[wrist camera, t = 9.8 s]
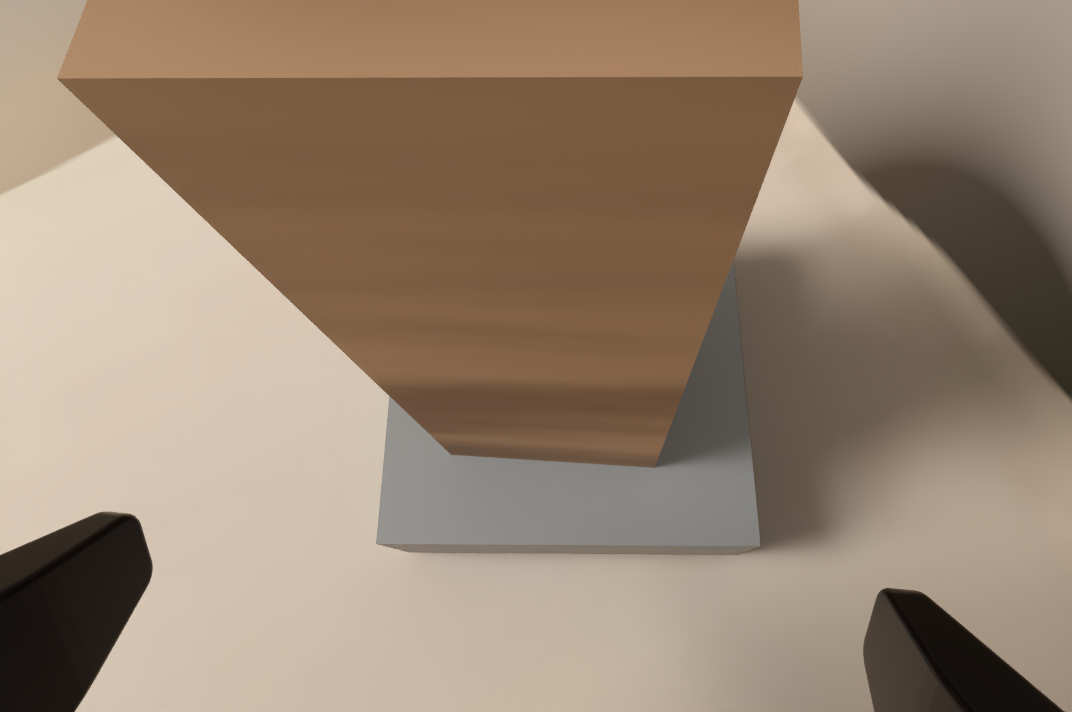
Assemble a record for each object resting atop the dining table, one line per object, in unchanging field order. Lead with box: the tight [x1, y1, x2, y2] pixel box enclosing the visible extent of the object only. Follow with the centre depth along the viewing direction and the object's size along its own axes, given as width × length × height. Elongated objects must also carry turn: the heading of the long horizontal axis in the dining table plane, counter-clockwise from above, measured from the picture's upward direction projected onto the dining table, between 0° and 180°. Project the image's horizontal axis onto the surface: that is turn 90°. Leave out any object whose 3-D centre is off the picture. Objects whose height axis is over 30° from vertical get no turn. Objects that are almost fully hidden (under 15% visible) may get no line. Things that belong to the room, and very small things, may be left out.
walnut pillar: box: [57, 0, 803, 468], centre depth 11 cm, size 5×5×13 cm
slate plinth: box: [376, 261, 761, 555], centre depth 19 cm, size 9×9×3 cm
